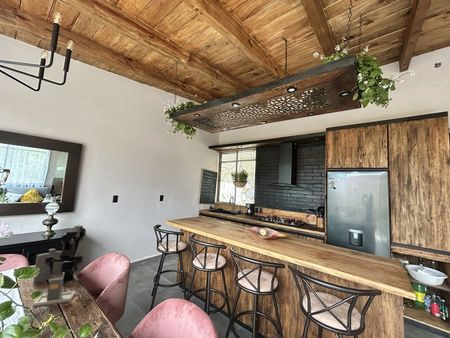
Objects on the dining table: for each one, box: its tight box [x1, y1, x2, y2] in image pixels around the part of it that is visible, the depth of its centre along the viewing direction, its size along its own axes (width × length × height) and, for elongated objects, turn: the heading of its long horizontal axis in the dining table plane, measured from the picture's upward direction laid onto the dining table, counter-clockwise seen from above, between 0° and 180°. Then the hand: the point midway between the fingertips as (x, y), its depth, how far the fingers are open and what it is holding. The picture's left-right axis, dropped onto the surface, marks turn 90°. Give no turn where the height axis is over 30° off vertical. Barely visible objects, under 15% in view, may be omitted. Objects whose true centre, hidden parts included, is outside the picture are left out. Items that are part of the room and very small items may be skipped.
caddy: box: [46, 273, 64, 301], centre depth 118 cm, size 5×6×12 cm
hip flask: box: [32, 248, 64, 284], centre depth 142 cm, size 16×4×20 cm, turn 137°
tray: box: [33, 290, 76, 307], centre depth 118 cm, size 9×17×2 cm, turn 113°
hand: (60, 274), depth 122 cm, fingers open, 9 cm apart
